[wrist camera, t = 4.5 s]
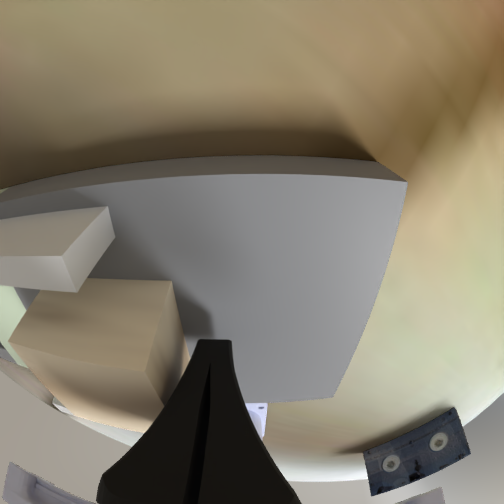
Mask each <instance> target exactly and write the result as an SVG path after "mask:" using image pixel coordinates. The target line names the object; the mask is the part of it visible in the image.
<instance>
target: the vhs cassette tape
mask: <svg viewBox="0 0 504 504" xmlns="http://www.w3.org/2000/svg"><path fill="white" fill-rule="evenodd" d="M363 454H364V455H363V456H364V459H365V465H366V469H367V474H368V480H369V485H370V492H371V496H375V495H378V494H381V493H384V492H387V491H390V490H393V489H396V488H399V487H402V486H405V485H407V484H410V483H412V482H415V481H417V480H420V479H422V478H424V477H426V476H429V475H431V474H433V473H435V472H438V471H440V470H442V469H444V468H446V467H447V466H449V465H451V464H453V463H455V462H457V461H459V460H461V459H463V458H464V457H466V456H468V455H470V454H471V453H470V449H469V445H468V442H467V439H466V436H465V433H464V429H463V427H462V424H461V420H460V419H459V416H458V413H457V410H456V409H455V408H452V409H451V410H449V411H447V412H446V413H444V414H442V415H440V416H439V417H437V418H435V419H433V420H432V421H430V422H428V423H426V424H424V425H422V426H421V427H419V428H417V429H415V430H413V431H411V432H409V433H407V434H404V435H402V436H400V437H398V438H396V439H394V440H391V441H389V442H387V443H384V444H382V445H379V446H377V447H375V448H372V449H369V450H367V451H364V452H363Z"/></svg>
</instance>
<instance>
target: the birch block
mask: <svg viewBox="0 0 504 504" xmlns="http://www.w3.org/2000/svg"><path fill="white" fill-rule="evenodd" d="M8 342H9V344H10V345H11V346H12V348H13V349H14V350H15V352H16V353H17V354H18V355H19V357H20V358H21V359H22V360H23V362H24V363H25V364H26V365H27V367H28V368H29V369H30V370H31V371H32V372H33V374H34V375H35V376H36V377H37V378H38V379H39V380H40V382H41V383H42V384H43V385H44V386H45V387H46V388H47V389H48V390H49V391H50V392H51V393H52V394H53V395H54V396H55V397H56V398H57V399H58V400H59V401H60V402H61V403H62V404H63V405H64V406H65V407H66V408H67V409H68V410H69V411H70V412H71V413H72V414H73V415H75V416H77V417H81V418H84V419H87V420H91V421H94V422H98V423H102V424H105V425H109V426H114V427H118V428H122V429H127V430H132V431H137V432H142V433H145V432H146V431H147V430H148V428H149V427H150V426H151V424H152V423H153V422H154V421H155V419H156V418H157V416H158V415H159V414H160V412H161V411H162V409H163V408H164V406H165V405H166V403H167V402H168V400H169V398H170V397H171V395H172V393H173V392H174V390H175V388H176V387H177V385H178V383H179V381H180V379H181V377H182V375H183V373H184V371H185V369H186V367H187V365H188V363H189V361H190V356H189V352H188V348H187V344H186V341H185V337H184V333H183V329H182V325H181V321H180V316H179V312H178V308H177V304H176V299H175V295H174V290H173V285H172V281H159V280H125V279H100V278H86V280H85V281H84V283H83V284H82V286H81V287H80V289H79V291H78V292H77V293H75V292H62V291H50V290H40V292H39V293H38V295H37V296H36V297H35V299H34V300H33V302H32V303H31V305H30V306H29V308H28V309H27V311H26V312H25V314H24V315H23V317H22V318H21V320H20V322H19V323H18V325H17V326H16V328H15V330H14V331H13V333H12V335H11V336H10V338H9V340H8Z"/></svg>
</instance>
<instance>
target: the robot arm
mask: <svg viewBox="0 0 504 504" xmlns="http://www.w3.org/2000/svg"><path fill="white" fill-rule="evenodd" d="M266 414H267V403H245V402H244V399H243V397H242V394H241V391H240V387H239V384H238V380H237V377H236V373H235V368H234V360H233V349H232V341H231V340H229V339H199V340H198V341H197V344H196V347H195V349H194V352H193V354H192V356H191V359H190V361H189V363H188V365H187V367H186V369H185V371H184V373H183V375H182V377H181V379H180V381H179V383H178V385H177V387H176V388H175V390H174V392H173V393H172V395H171V397H170V398H169V400H168V402H167V403H166V405H165V406H164V408H163V409H162V411H161V412H160V414H159V415H158V416H157V418H156V419H155V421H154V422H153V423H152V424H151V426H150V427H149V428H148V430H147V431H146V432H145V433H144V434H143V436H142V437H141V438H140V439H139V440H138V441H137V442H136V443H135V445H134V446H133V447H132V448H131V449H130V450H129V451H128V452H127V453H126V454H125V455H124V456H123V457H122V458H121V459H120V460H119V461H117V462H116V463H115V464H114V465H113V466H112V467H111V468H109V469H108V470H107V471H106V472H105V473H103V475H102V477H101V480H100V483H99V486H98V492H97V498H96V501H97V503H99V504H301V502H300V500H299V498H298V496H297V495H296V493H295V491H294V490H293V488H292V487H291V486H290V484H289V483H288V482H287V480H286V479H285V478H284V476H283V475H282V473H281V472H280V470H279V469H278V467H277V466H276V464H275V463H274V461H273V459H272V458H271V456H270V454H269V453H268V451H267V449H266V447H265V446H264V444H263V442H262V437H263V436H264V432H265V423H266ZM2 498H3V500H5V501H6V502H7V503H9V504H95V503H93V502H90V501H88V500H85V499H83V498H80V497H78V496H75V495H73V494H71V493H69V492H66V491H64V490H62V489H60V488H58V487H56V486H55V485H54V484H52V483H51V482H49V481H47V480H45V479H43V478H41V477H39V476H37V475H35V474H33V473H30V472H28V471H26V470H25V469H23V468H21V467H20V466H18V465H16V464H14V463H12V462H10V463H9V466H8V471H7V475H6V480H5V485H4V491H3V496H2ZM396 504H445V500H444V495H443V491H442V487H439V488H436V489H434V490H431V491H429V492H427V493H424V494H420V495H417V496H414V497H411V498H409V499H406V500H404V501H401V502H398V503H396Z"/></svg>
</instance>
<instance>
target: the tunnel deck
mask: <svg viewBox="0 0 504 504" xmlns="http://www.w3.org/2000/svg"><path fill="white" fill-rule="evenodd" d="M407 185H408V182H407V181H406V180H404V179H403V178H401V177H400V176H398V175H397V174H395V173H394V172H392V171H391V170H389V169H388V168H386V167H385V166H383V165H382V164H380V163H379V162H373V161H364V160H353V159H341V158H327V157H309V156H277V155H243V156H211V157H192V158H178V159H166V160H155V161H146V162H137V163H129V164H121V165H114V166H107V167H101V168H95V169H89V170H83V171H77V172H72V173H67V174H62V175H57V176H53V177H48V178H44V179H39V180H35V181H31V182H27V183H23V184H19V185H16V186H12V187H8V188H5V189H1V190H0V357H1V358H3V359H5V360H8V361H10V362H13V363H15V364H18V365H21V366H23V367H26V368H28V367H27V365H26V364H25V363H24V362H23V360H22V359H21V358H20V357H19V355H18V354H17V353H16V352H15V350H14V349H13V348H12V346H11V345H10V344H9V342H8V340H9V338H10V336H11V335H12V333H13V331H14V330H15V328H16V326H17V325H18V323H19V322H20V320H21V318H22V317H23V315H24V314H25V312H26V311H27V309H28V308H29V306H30V305H31V303H32V302H33V300H34V299H35V297H36V296H37V295H38V293H39V292H40V290H50V291H62V292H75V293H77V292H78V291H79V289H80V287H81V286H82V284H83V283H84V281H85V280H86V278H100V279H125V280H159V281H172V285H173V290H174V295H175V299H176V304H177V308H178V312H179V316H180V321H181V325H182V329H183V333H184V337H185V341H186V344H187V348H188V352H189V356H190V359H191V356H192V354H193V352H194V349H195V347H196V344H197V341H198V340H199V339H229V340H231V341H232V349H233V360H234V368H235V373H236V377H237V380H238V384H239V387H240V391H241V394H242V397H243V399H244V402H245V403H274V402H291V401H304V400H314V399H323V398H331V397H333V396H334V394H335V392H336V390H337V388H338V386H339V384H340V382H341V380H342V378H343V376H344V374H345V372H346V370H347V368H348V366H349V363H350V361H351V359H352V357H353V355H354V352H355V350H356V348H357V346H358V343H359V341H360V338H361V336H362V334H363V331H364V329H365V326H366V324H367V321H368V319H369V316H370V314H371V311H372V308H373V306H374V303H375V300H376V297H377V294H378V292H379V289H380V286H381V283H382V280H383V277H384V274H385V271H386V267H387V264H388V261H389V258H390V254H391V251H392V247H393V244H394V240H395V236H396V233H397V229H398V225H399V221H400V217H401V213H402V208H403V204H404V199H405V195H406V190H407ZM52 403H53V404H54V405H55V406H56V407H57V408H58V409H59V410H60V411H62V412H65V413H68V414H71V415H73V414H72V413H71V412H70V411H69V410H68V409H67V408H66V407H65V406H64V405H63V404H62V403H61V402H60V401H59V400H58V399H57V398H56V397H54V399H53V402H52ZM74 416H75V415H74ZM80 418H81V417H80ZM83 419H84V418H83ZM90 421H91V420H90ZM97 423H98V422H97ZM101 424H102V423H101ZM113 427H114V426H113ZM117 428H118V427H117ZM121 429H122V428H121ZM126 430H127V429H126ZM131 431H132V430H131ZM136 432H137V431H136ZM141 433H142V432H141Z"/></svg>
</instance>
